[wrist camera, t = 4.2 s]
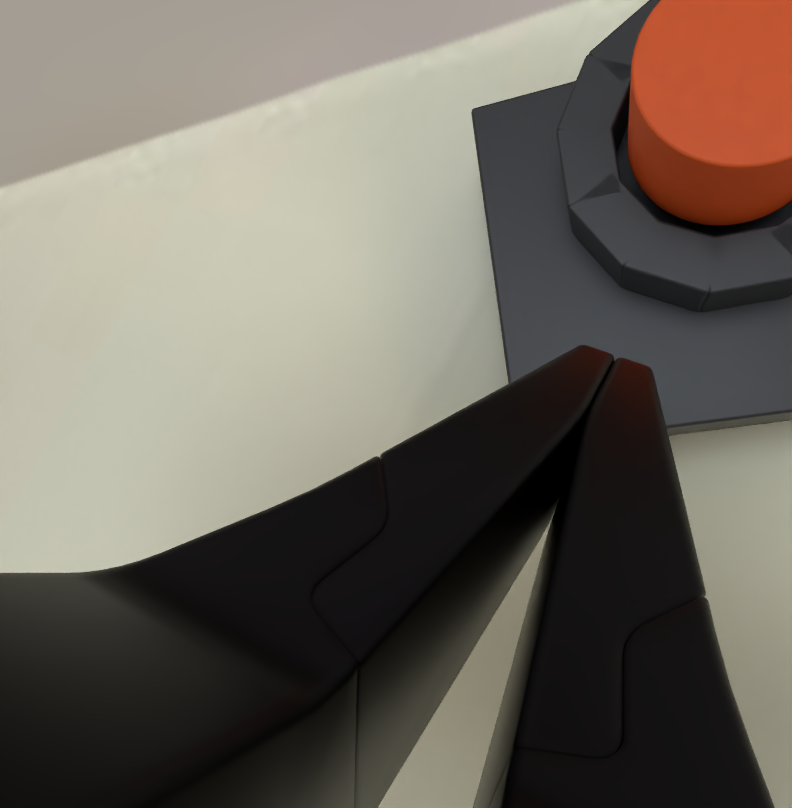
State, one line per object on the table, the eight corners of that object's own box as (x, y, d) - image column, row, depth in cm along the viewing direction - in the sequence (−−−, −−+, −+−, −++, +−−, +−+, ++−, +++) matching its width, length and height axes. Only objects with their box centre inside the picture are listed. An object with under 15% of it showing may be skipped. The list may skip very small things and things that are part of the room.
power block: (972, 396, 18) (1124, 363, 12) (533, 453, 21) (506, 445, 15) (893, 53, 19) (1000, -109, 14) (491, 153, 22) (453, 52, 17)
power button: (847, 203, 14) (908, 133, 11) (643, 244, 15) (649, 190, 12) (809, 24, 15) (858, -86, 12) (614, 76, 16) (614, -12, 13)
